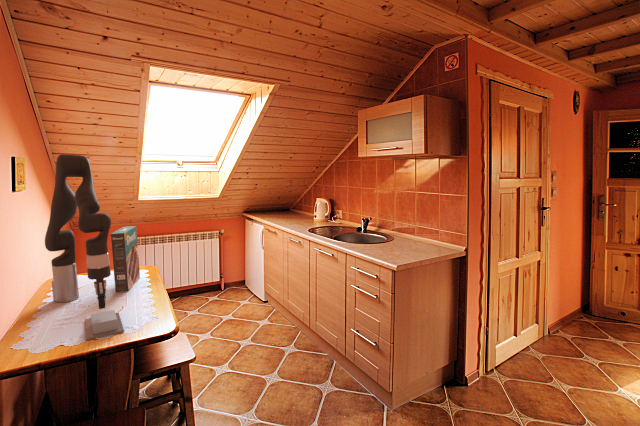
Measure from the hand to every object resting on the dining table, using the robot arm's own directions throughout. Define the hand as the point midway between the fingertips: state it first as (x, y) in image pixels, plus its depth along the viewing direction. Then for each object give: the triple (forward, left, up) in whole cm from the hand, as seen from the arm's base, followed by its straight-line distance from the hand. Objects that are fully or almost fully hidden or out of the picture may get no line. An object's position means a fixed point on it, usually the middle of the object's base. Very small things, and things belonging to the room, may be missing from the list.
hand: (102, 308), depth 138 cm
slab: (-3, +3, -5) cm, 6 cm away
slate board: (-1, +1, -8) cm, 8 cm away
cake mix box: (-23, +49, -8) cm, 55 cm away
